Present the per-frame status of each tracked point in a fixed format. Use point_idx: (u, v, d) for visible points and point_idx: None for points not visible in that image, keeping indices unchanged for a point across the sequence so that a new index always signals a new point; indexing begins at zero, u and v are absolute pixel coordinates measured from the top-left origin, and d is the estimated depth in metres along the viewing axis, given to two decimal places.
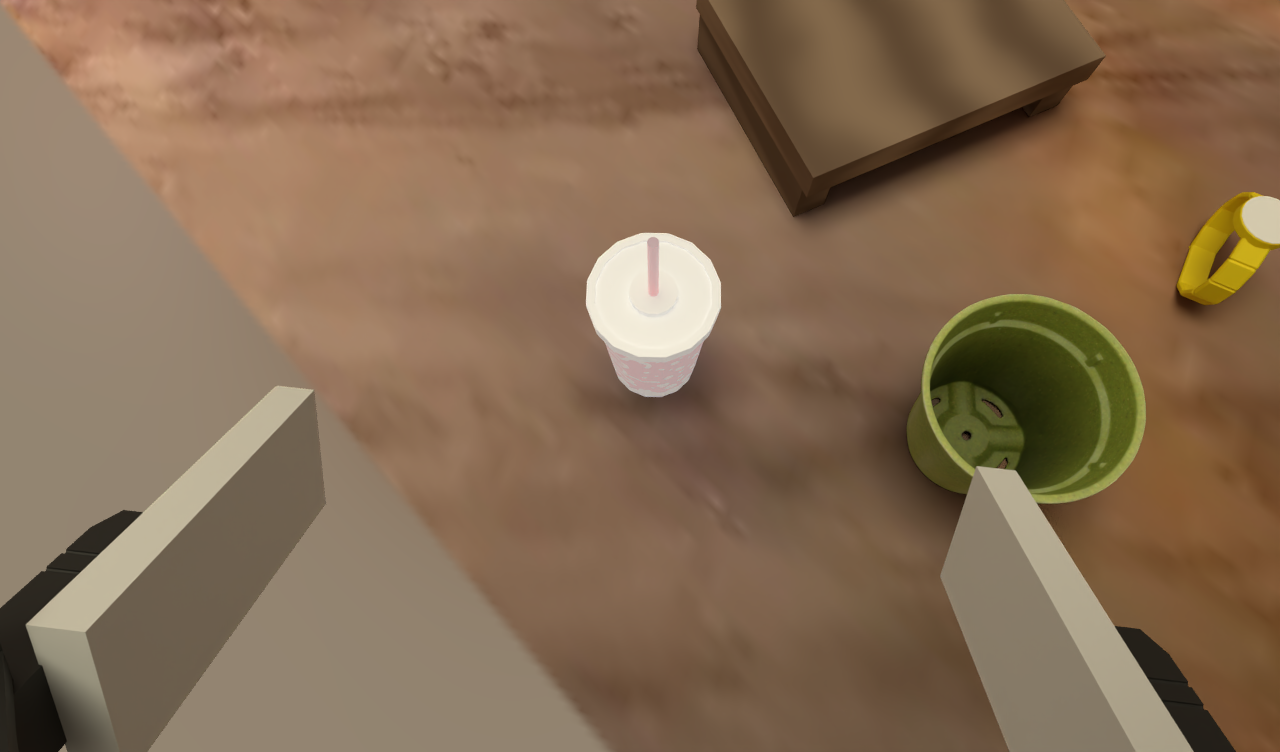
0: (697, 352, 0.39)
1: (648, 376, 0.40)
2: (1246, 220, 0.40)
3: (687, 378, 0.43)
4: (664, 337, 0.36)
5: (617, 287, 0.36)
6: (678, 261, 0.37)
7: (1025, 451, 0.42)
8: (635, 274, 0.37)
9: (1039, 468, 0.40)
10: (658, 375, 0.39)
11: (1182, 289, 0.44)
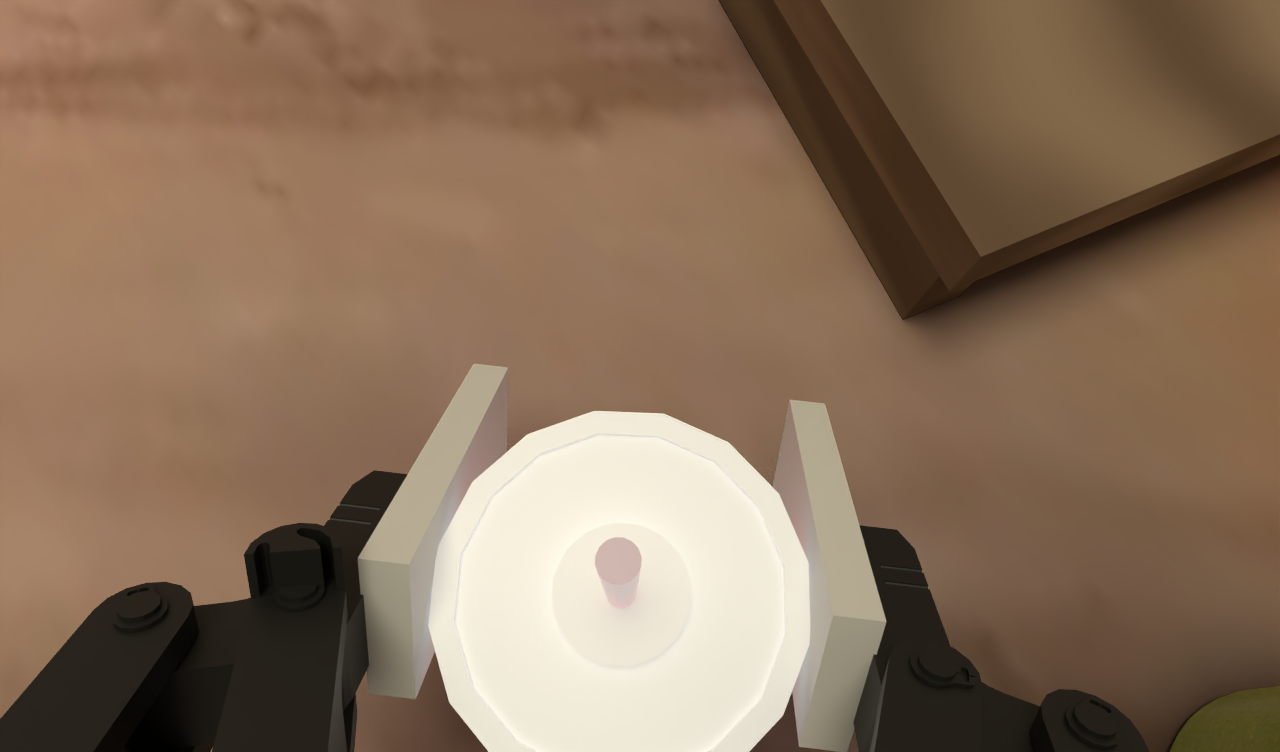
0: None
1: None
2: None
3: None
4: (648, 733, 0.12)
5: (521, 570, 0.13)
6: (691, 494, 0.13)
7: None
8: (573, 530, 0.13)
9: None
10: None
11: None
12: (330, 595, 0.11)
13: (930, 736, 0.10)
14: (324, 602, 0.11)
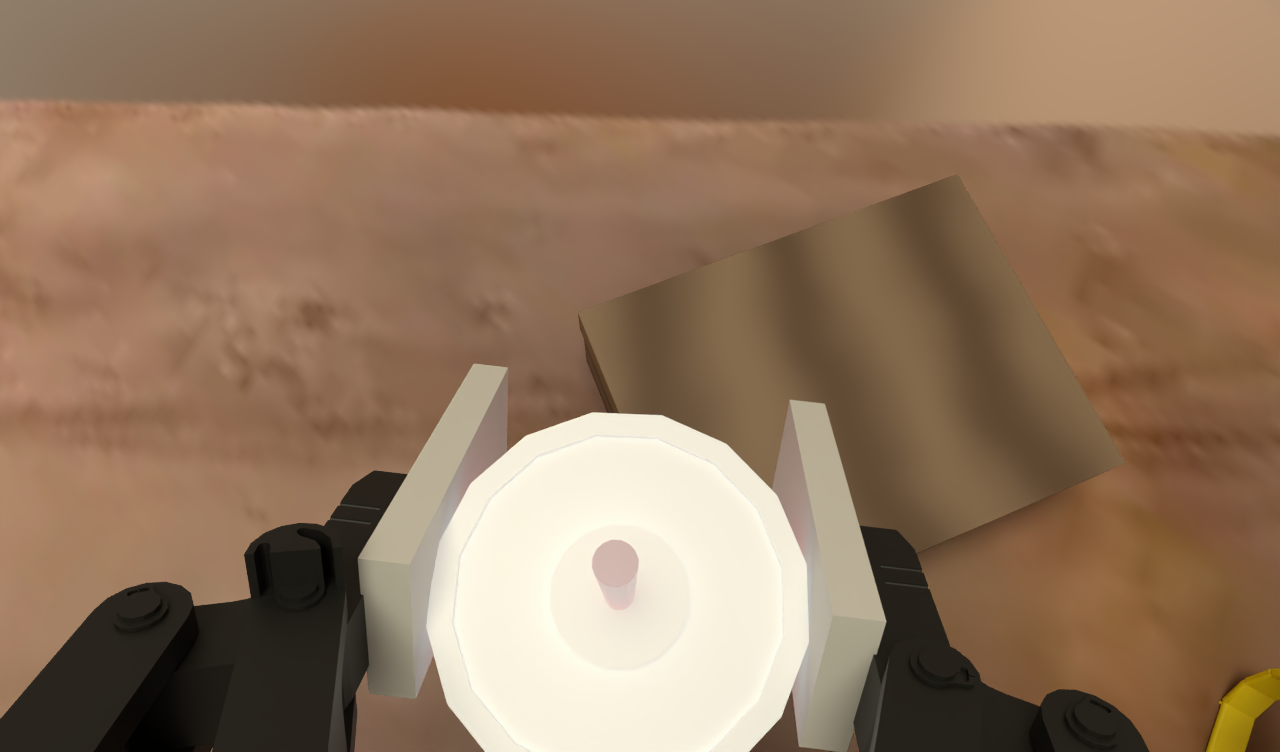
0: None
1: None
2: None
3: None
4: (646, 734, 0.12)
5: (519, 571, 0.13)
6: (689, 496, 0.13)
7: None
8: (571, 532, 0.13)
9: None
10: None
11: None
12: (331, 595, 0.11)
13: (930, 736, 0.10)
14: (325, 602, 0.11)
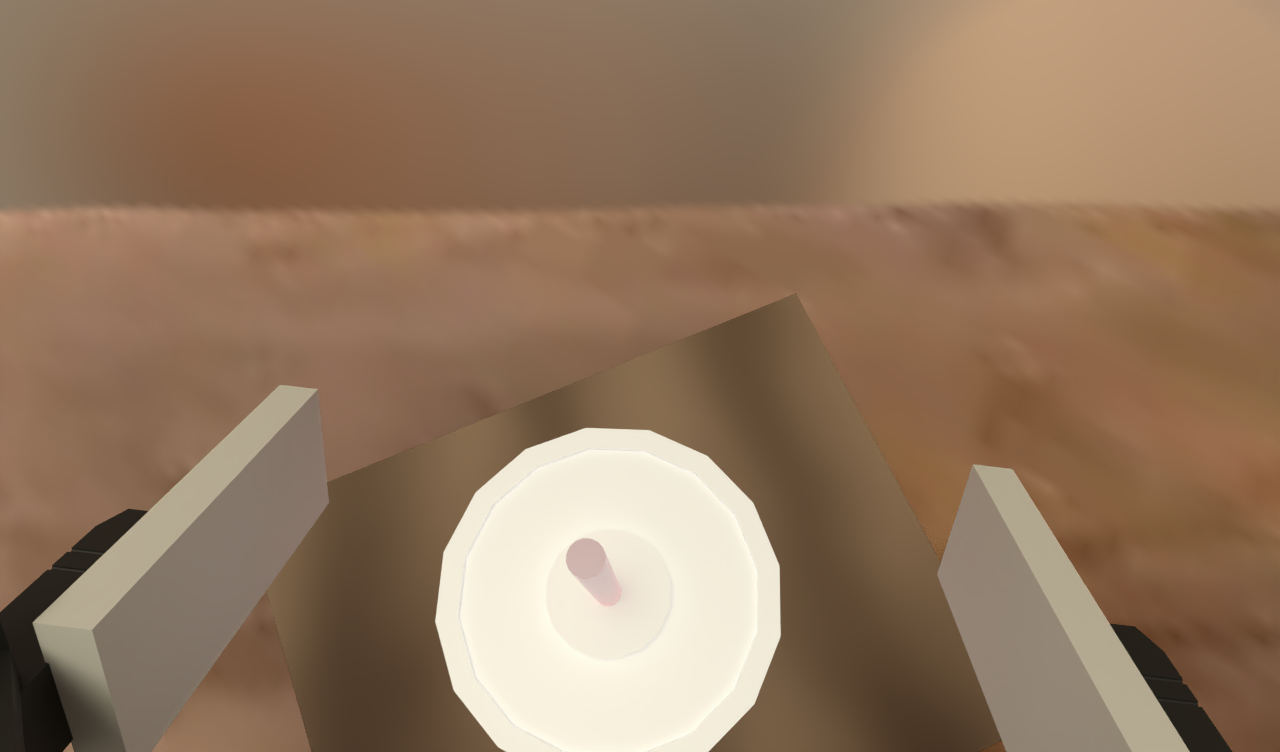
0: None
1: None
2: None
3: None
4: (632, 719, 0.14)
5: (518, 572, 0.14)
6: (673, 503, 0.15)
7: None
8: (566, 536, 0.15)
9: None
10: None
11: None
12: None
13: None
14: None
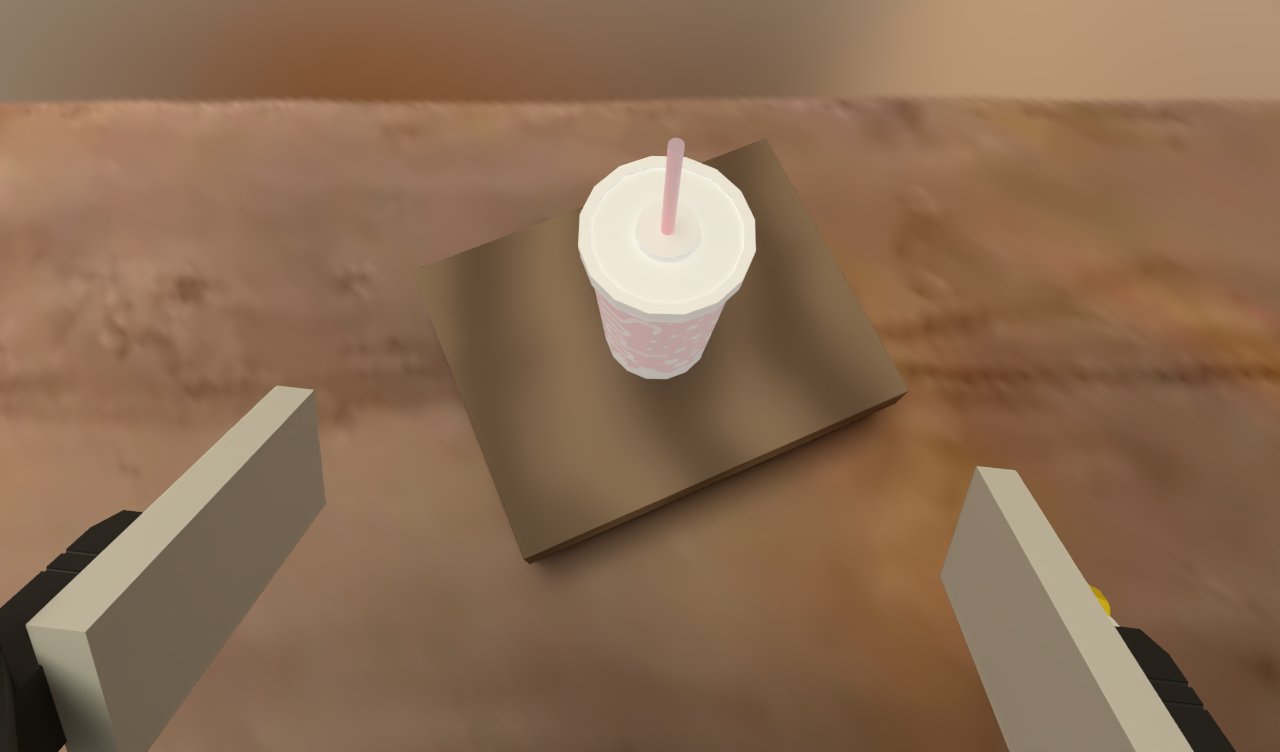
0: (718, 316, 0.31)
1: (655, 347, 0.31)
2: None
3: (699, 355, 0.35)
4: (681, 289, 0.27)
5: (619, 224, 0.28)
6: (699, 192, 0.28)
7: None
8: (643, 208, 0.28)
9: None
10: (668, 345, 0.31)
11: None
12: None
13: None
14: None
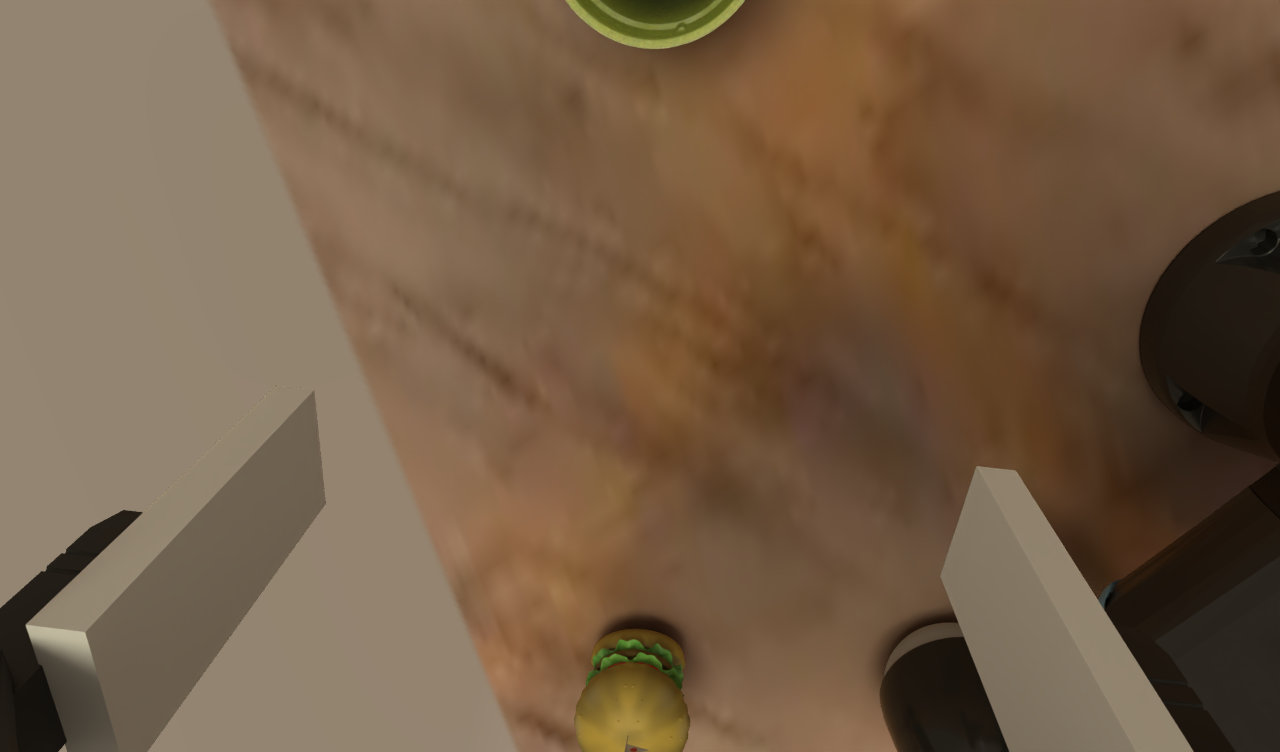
0: None
1: None
2: None
3: None
4: None
5: None
6: None
7: None
8: None
9: (683, 3, 0.38)
10: None
11: None
12: None
13: None
14: None
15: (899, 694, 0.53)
